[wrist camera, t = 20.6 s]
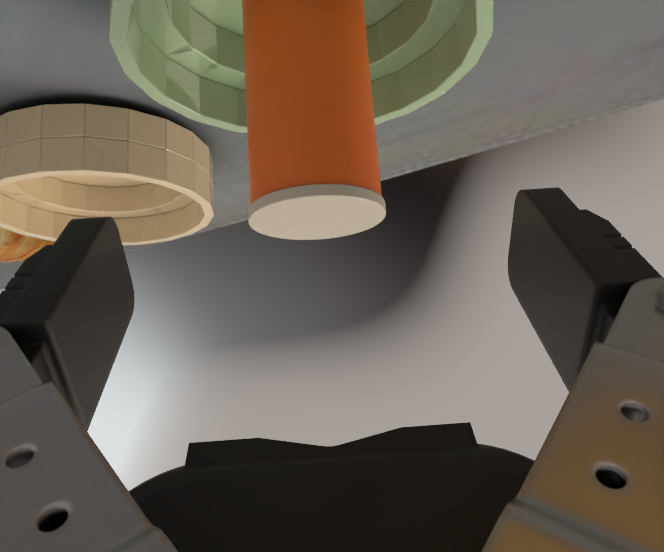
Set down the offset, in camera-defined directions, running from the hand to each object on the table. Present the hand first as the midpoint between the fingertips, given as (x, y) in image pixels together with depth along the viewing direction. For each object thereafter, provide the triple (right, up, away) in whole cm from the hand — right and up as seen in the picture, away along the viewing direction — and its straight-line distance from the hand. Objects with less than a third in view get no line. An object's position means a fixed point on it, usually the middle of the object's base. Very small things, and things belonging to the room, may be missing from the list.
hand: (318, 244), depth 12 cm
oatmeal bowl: (-14, +7, +25) cm, 30 cm away
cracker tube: (-1, +11, +10) cm, 15 cm away
